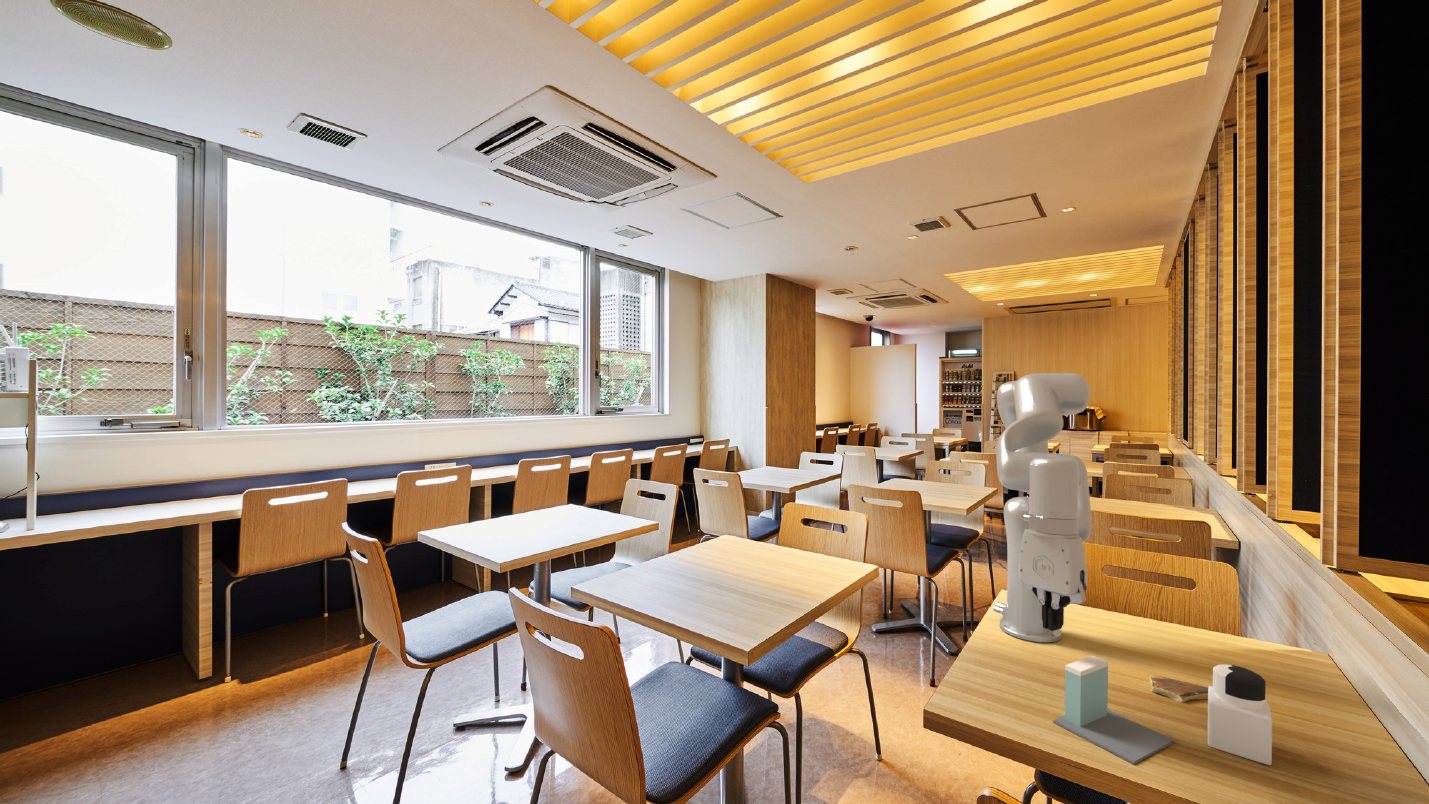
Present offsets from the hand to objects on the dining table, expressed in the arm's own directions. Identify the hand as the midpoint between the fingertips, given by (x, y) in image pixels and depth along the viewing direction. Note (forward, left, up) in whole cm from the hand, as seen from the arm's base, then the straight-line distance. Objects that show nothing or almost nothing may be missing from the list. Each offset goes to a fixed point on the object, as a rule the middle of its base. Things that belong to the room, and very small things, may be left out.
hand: (1052, 628), depth 99 cm
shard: (+8, +26, -14) cm, 31 cm away
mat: (+10, 0, -14) cm, 17 cm away
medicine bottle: (+21, +14, -14) cm, 29 cm away
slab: (+6, 0, -13) cm, 14 cm away
